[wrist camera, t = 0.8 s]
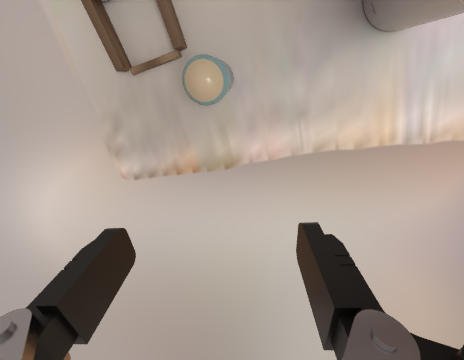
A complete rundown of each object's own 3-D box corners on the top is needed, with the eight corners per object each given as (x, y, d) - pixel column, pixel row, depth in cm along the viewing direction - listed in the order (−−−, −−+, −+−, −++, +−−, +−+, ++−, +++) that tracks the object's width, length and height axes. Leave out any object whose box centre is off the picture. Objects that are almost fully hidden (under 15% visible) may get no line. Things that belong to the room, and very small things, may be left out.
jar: (227, 54, 29) (218, 46, 20) (237, 90, 31) (232, 98, 22) (195, 66, 30) (173, 63, 21) (207, 100, 32) (191, 111, 23)
